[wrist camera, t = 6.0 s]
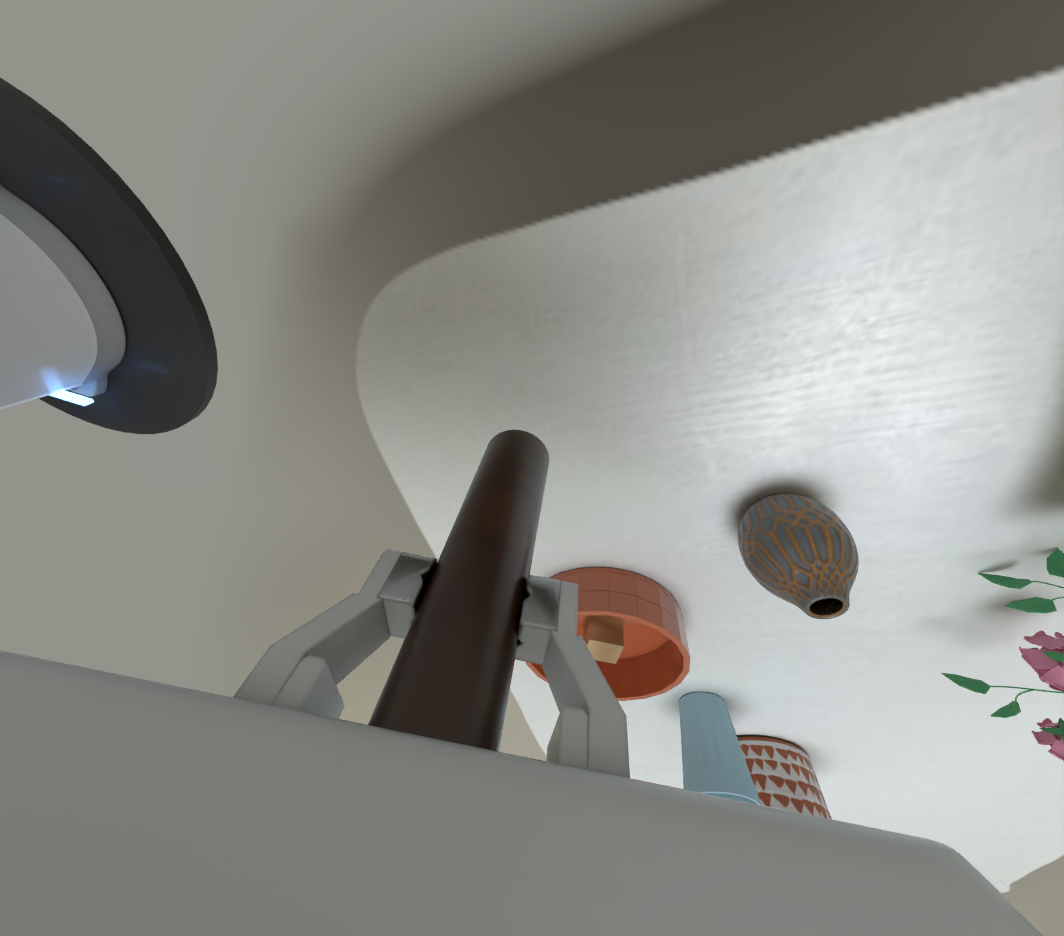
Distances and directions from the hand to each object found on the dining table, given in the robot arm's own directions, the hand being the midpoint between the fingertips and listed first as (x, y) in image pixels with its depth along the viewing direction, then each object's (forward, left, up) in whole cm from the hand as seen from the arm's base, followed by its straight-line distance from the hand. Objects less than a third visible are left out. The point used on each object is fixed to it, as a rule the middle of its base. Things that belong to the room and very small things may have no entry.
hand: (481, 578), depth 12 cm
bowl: (+10, -27, -18) cm, 34 cm away
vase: (+20, -9, -19) cm, 29 cm away
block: (+10, -27, -18) cm, 34 cm away
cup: (+26, -41, -19) cm, 52 cm away
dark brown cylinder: (0, 0, -7) cm, 7 cm away
